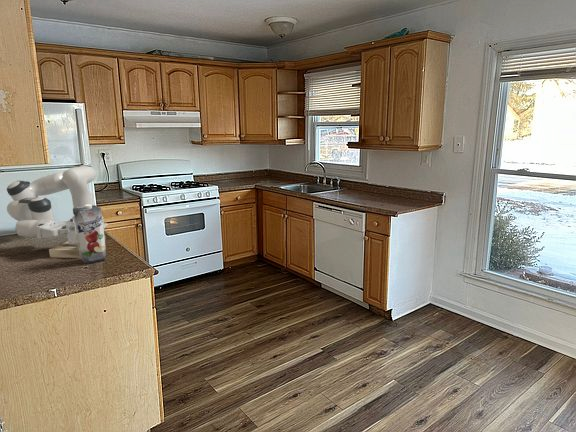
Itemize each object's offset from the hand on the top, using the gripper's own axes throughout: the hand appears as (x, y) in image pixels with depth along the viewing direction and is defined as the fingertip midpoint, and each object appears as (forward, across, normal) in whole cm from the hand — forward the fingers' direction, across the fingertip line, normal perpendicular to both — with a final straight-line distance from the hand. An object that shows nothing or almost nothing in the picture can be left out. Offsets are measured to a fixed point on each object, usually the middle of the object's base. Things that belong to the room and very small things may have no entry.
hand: (75, 228), depth 200 cm
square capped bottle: (-1, 0, -8) cm, 8 cm away
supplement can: (-1, -20, -12) cm, 24 cm away
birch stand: (-1, 0, -12) cm, 12 cm away
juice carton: (+15, +13, -12) cm, 24 cm away
